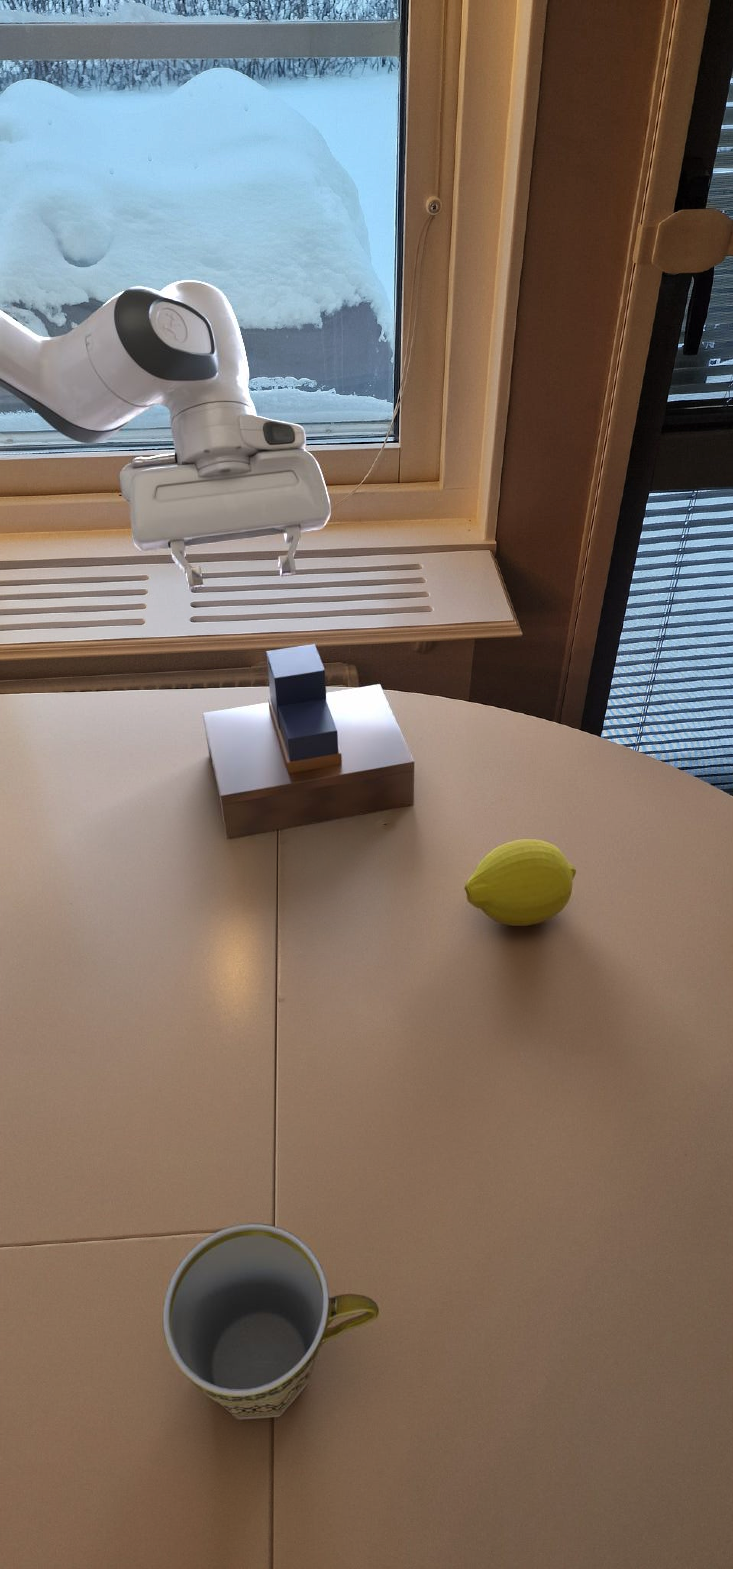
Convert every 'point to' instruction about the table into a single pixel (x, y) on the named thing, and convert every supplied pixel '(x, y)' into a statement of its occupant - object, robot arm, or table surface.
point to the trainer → (301, 709)
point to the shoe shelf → (280, 800)
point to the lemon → (521, 882)
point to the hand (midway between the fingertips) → (242, 581)
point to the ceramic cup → (253, 1317)
